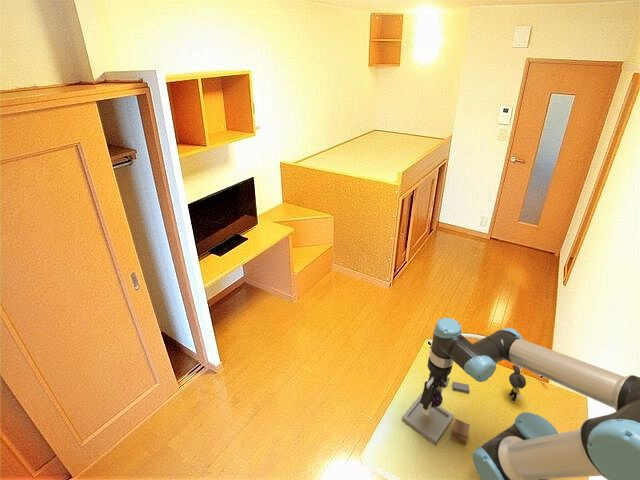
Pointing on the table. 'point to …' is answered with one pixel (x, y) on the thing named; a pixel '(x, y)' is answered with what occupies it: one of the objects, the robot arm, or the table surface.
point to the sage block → (447, 381)
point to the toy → (516, 383)
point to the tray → (428, 420)
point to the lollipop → (436, 400)
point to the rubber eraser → (460, 387)
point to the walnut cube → (460, 431)
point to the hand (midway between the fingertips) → (430, 405)
